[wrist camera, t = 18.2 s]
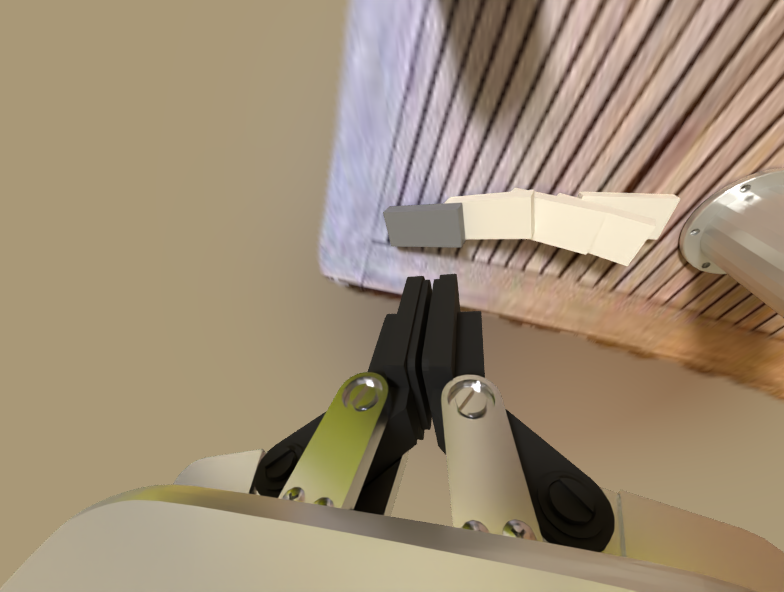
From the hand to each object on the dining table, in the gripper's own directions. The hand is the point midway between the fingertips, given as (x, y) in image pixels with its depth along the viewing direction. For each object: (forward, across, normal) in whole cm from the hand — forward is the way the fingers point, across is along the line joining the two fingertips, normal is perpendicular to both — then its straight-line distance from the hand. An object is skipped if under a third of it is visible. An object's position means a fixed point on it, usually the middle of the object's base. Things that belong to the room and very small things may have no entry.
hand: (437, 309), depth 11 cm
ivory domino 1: (+30, +2, +9) cm, 31 cm away
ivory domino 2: (+30, -5, +9) cm, 32 cm away
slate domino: (+30, +10, +9) cm, 33 cm away
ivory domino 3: (+30, -10, +10) cm, 33 cm away
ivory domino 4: (+31, -13, +10) cm, 35 cm away
